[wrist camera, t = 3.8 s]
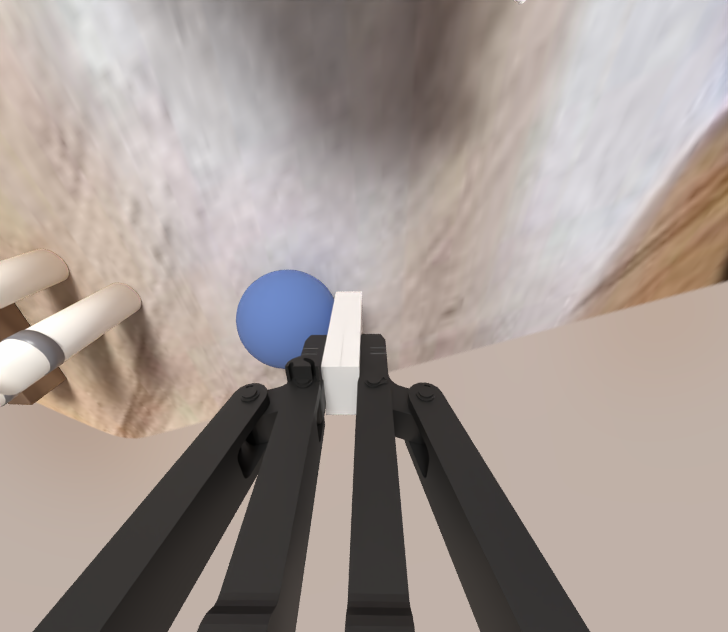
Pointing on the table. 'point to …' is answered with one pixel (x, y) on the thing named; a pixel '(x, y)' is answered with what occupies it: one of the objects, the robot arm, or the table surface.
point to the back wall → (11, 322)
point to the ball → (282, 315)
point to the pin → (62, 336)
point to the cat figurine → (520, 1)
